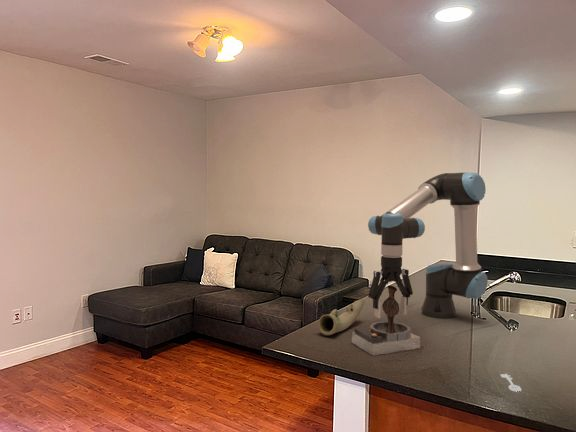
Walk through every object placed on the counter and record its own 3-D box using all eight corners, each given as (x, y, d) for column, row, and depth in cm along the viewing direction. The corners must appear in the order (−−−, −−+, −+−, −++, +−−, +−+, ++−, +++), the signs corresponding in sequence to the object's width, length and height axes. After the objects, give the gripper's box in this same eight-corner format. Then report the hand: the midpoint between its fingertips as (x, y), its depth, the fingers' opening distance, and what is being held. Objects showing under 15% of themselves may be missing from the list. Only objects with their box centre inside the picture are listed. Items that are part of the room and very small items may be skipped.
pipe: (335, 339, 167) (335, 313, 167) (316, 335, 172) (316, 310, 171) (365, 321, 190) (365, 298, 190) (348, 318, 195) (348, 296, 194)
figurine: (377, 331, 164) (379, 284, 163) (386, 329, 167) (388, 282, 166) (393, 337, 158) (395, 288, 157) (402, 334, 161) (404, 286, 160)
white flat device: (396, 335, 172) (396, 319, 171) (420, 348, 158) (420, 330, 158) (351, 342, 164) (351, 325, 164) (372, 355, 151) (373, 337, 150)
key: (510, 392, 125) (522, 393, 124) (510, 389, 125) (523, 390, 124) (499, 375, 137) (511, 376, 136) (500, 372, 136) (511, 373, 136)
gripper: (411, 253, 168) (409, 309, 169) (358, 256, 159) (357, 316, 161) (424, 255, 161) (422, 315, 162) (370, 259, 152) (369, 321, 154)
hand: (390, 315), depth 161 cm, fingers open, 10 cm apart
